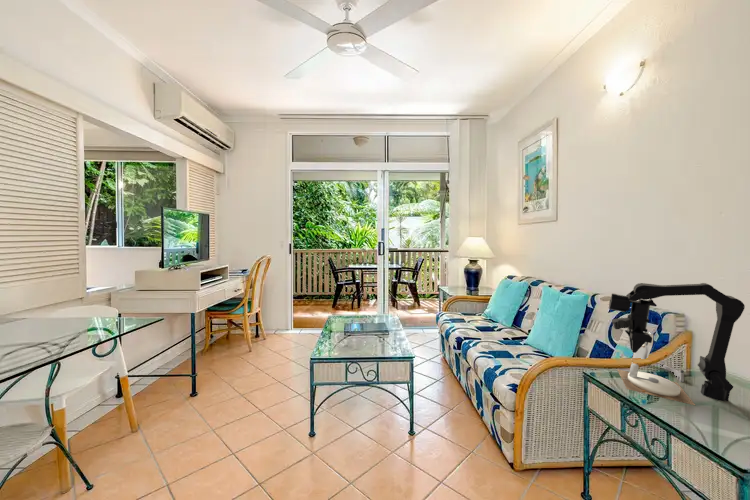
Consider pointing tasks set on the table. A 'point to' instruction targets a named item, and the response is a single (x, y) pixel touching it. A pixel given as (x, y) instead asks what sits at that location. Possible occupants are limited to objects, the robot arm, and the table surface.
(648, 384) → the dial
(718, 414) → the table surface
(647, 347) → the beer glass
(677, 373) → the caliper
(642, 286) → the robot arm
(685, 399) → the dial base
